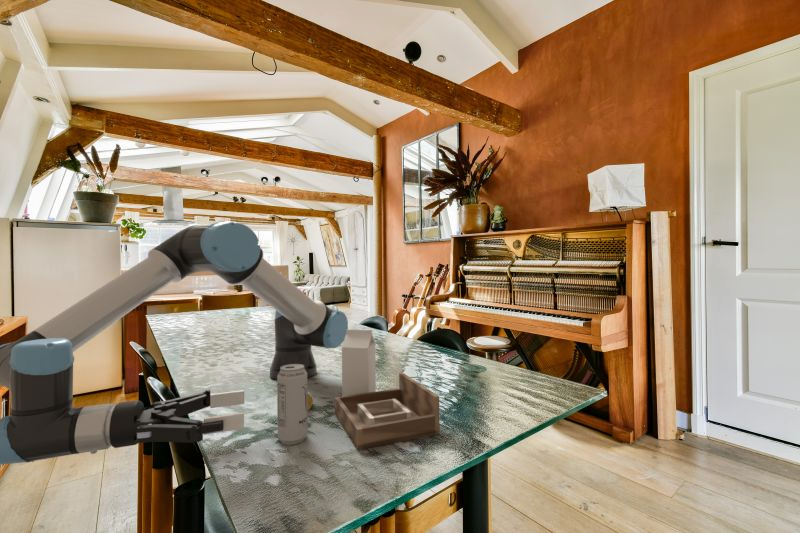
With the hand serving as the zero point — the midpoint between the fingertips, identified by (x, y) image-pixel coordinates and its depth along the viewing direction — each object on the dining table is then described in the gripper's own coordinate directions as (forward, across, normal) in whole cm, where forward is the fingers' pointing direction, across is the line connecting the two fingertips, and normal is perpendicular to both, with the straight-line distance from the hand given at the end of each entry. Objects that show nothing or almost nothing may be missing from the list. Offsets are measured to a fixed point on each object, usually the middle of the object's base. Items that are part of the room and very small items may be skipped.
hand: (244, 407), depth 74 cm
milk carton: (+28, -16, -8) cm, 33 cm away
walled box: (+29, 0, -8) cm, 30 cm away
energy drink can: (+9, 0, -8) cm, 12 cm away
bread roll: (+12, -18, -8) cm, 23 cm away
